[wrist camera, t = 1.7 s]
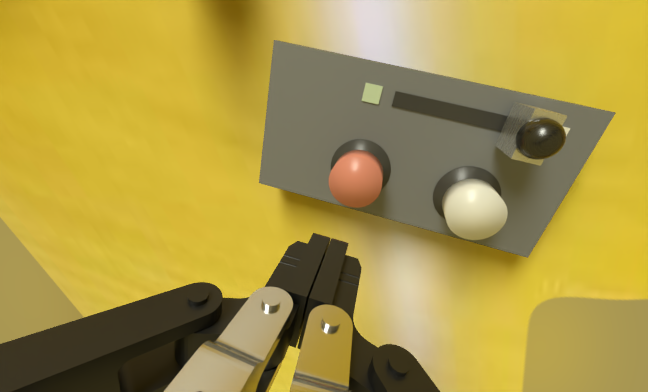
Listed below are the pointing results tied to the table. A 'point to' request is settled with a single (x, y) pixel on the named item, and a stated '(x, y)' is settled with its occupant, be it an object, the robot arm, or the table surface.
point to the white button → (474, 209)
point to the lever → (532, 134)
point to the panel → (414, 140)
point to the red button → (356, 179)
